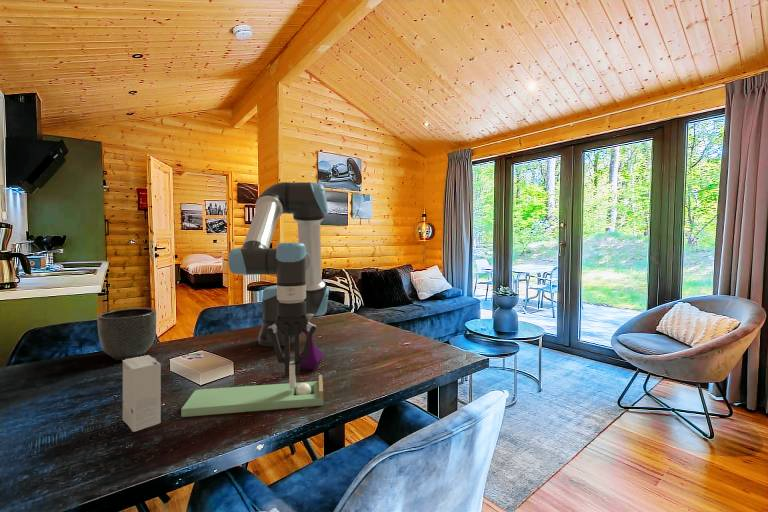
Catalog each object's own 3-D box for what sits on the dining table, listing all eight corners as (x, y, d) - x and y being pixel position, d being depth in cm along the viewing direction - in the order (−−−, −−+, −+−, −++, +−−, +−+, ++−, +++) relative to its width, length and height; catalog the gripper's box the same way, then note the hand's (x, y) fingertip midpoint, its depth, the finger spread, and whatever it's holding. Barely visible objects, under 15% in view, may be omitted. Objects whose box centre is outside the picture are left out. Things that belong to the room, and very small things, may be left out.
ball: (313, 383, 102) (307, 396, 101) (299, 378, 101) (294, 392, 101) (313, 389, 98) (307, 403, 98) (299, 384, 97) (293, 398, 97)
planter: (87, 361, 126) (85, 315, 125) (137, 347, 142) (135, 306, 141) (120, 368, 120) (118, 320, 119) (168, 352, 136) (167, 310, 135)
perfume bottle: (316, 372, 117) (316, 317, 116) (294, 370, 119) (294, 316, 118) (325, 364, 125) (324, 312, 123) (304, 362, 126) (304, 311, 125)
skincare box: (122, 421, 87) (119, 359, 86) (150, 411, 91) (148, 353, 90) (133, 433, 81) (130, 368, 80) (163, 423, 86) (161, 361, 85)
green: (195, 397, 100) (195, 383, 99) (322, 387, 106) (322, 374, 106) (181, 417, 89) (180, 401, 88) (323, 405, 95) (323, 391, 95)
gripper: (264, 304, 92) (265, 394, 94) (316, 302, 95) (317, 390, 96) (267, 298, 100) (269, 383, 101) (316, 297, 102) (317, 379, 104)
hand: (292, 386), depth 99 cm, fingers closed
